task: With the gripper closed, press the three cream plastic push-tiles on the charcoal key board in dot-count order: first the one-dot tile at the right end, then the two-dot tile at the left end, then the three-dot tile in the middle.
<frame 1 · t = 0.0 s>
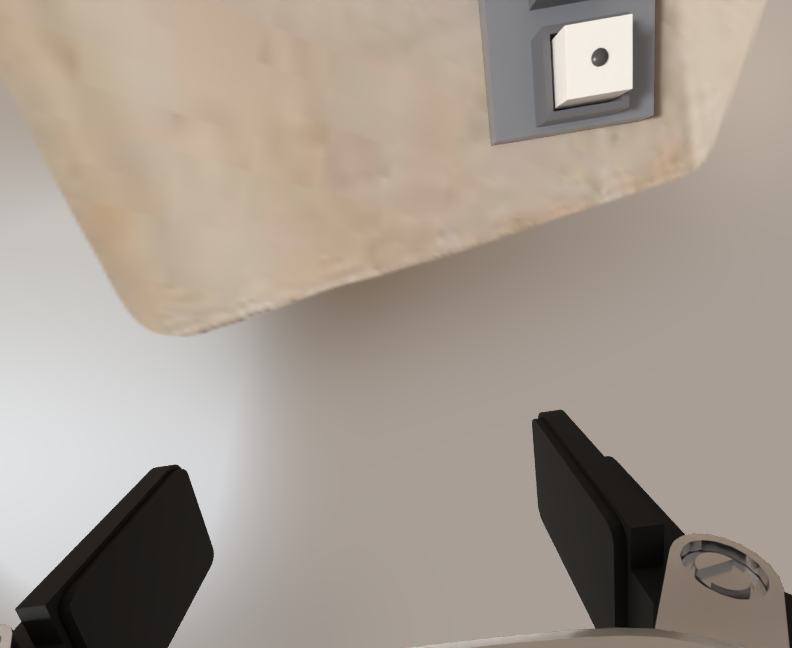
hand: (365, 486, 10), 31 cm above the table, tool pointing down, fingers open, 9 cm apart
one-dot tile: (590, 64, 31), point 5 cm above the table, slide at 0.0 cm
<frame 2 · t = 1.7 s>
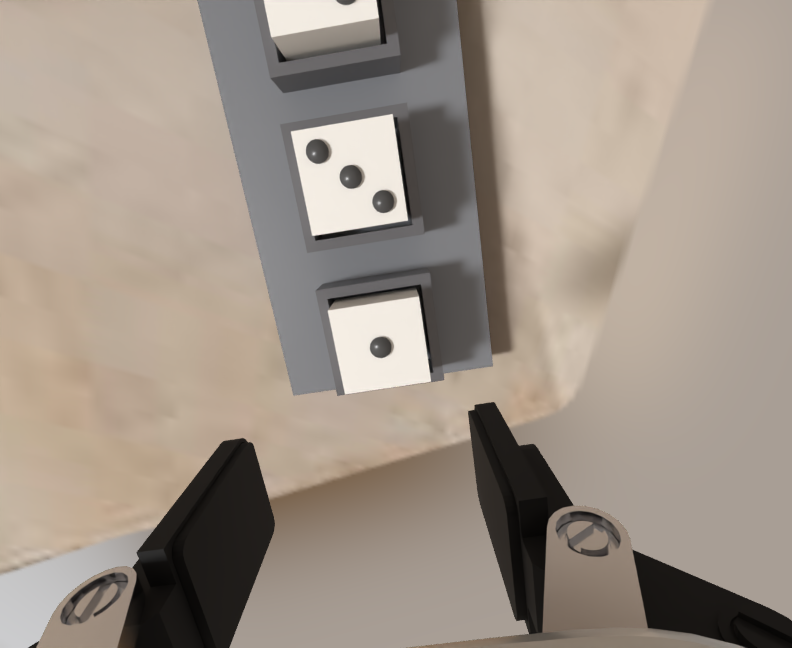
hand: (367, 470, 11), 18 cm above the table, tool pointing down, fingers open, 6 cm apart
three-dot tile: (353, 180, 21), point 5 cm above the table, slide at 0.0 cm
key board: (361, 187, 26), on the table
one-dot tile: (381, 339, 23), point 5 cm above the table, slide at 0.0 cm
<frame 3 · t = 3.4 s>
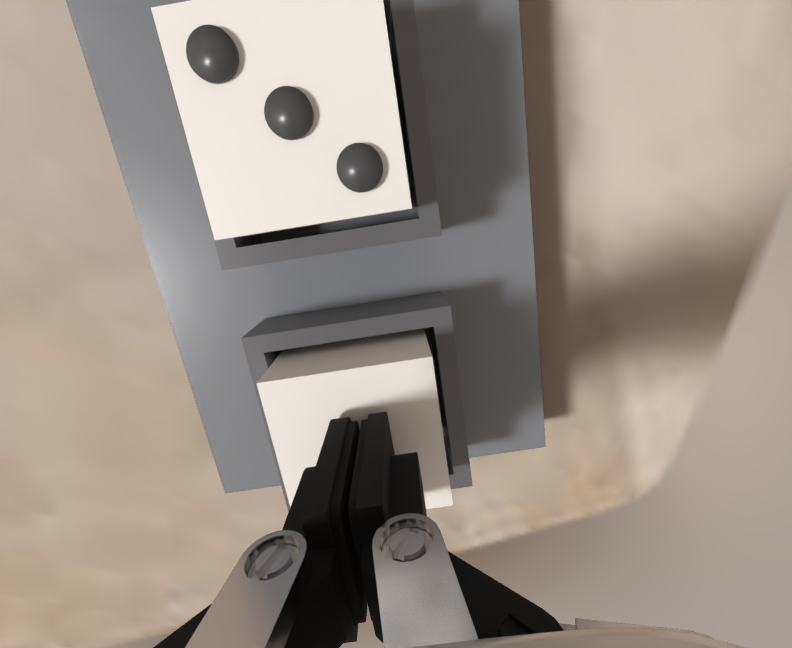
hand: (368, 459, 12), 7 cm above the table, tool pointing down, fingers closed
three-dot tile: (303, 127, 10), point 5 cm above the table, slide at 0.0 cm
key board: (330, 155, 15), on the table
one-dot tile: (362, 422, 13), point 5 cm above the table, slide at 0.2 cm, touching gripper
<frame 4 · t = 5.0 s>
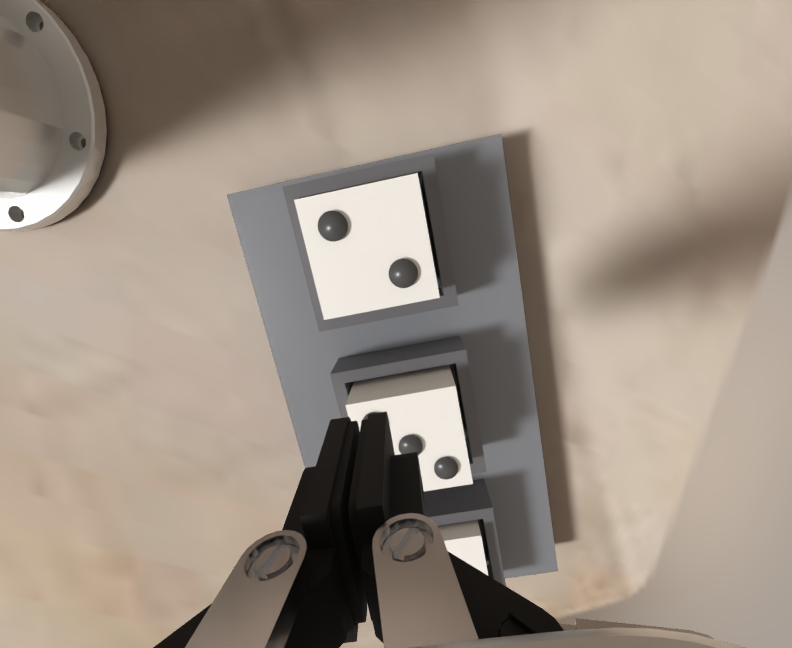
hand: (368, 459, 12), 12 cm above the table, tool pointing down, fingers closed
two-dot tile: (371, 248, 17), point 5 cm above the table, slide at 0.0 cm
three-dot tile: (410, 429, 19), point 5 cm above the table, slide at 0.0 cm
key board: (409, 389, 24), on the table
one-dot tile: (439, 559, 23), point 4 cm above the table, slide at 1.2 cm
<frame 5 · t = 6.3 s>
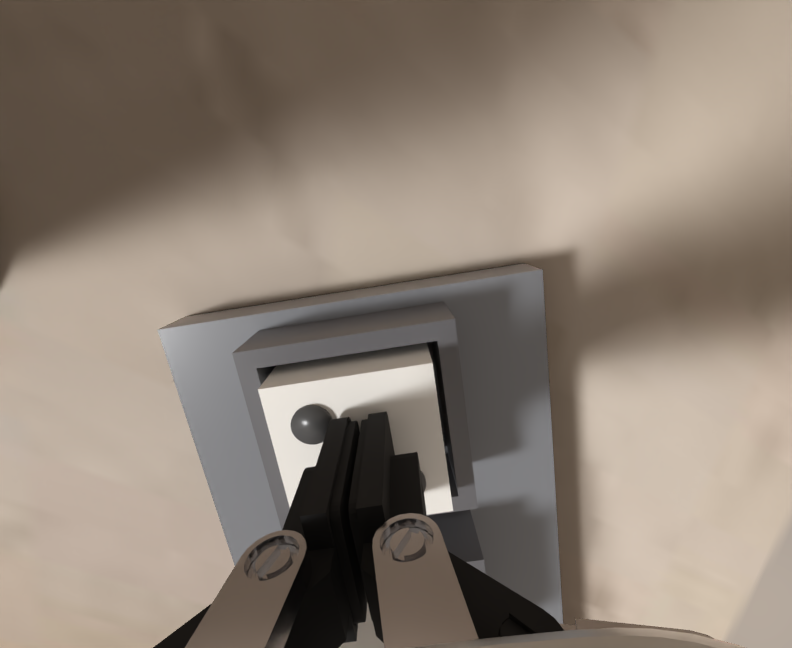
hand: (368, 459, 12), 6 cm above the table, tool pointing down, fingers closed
two-dot tile: (363, 428, 13), point 4 cm above the table, slide at 1.0 cm
key board: (400, 547, 19), on the table
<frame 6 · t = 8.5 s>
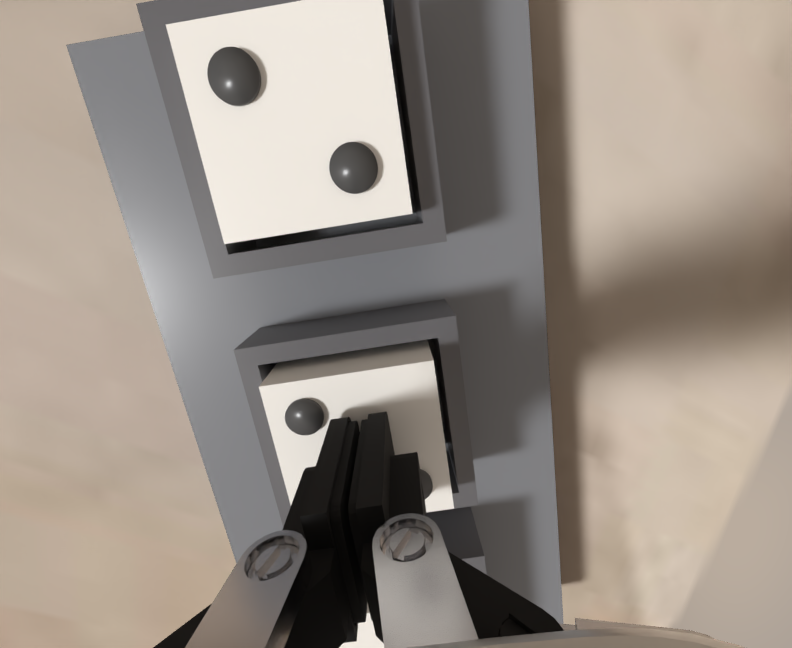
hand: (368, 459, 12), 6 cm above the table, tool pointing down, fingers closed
two-dot tile: (308, 136, 11), point 4 cm above the table, slide at 1.2 cm
three-dot tile: (364, 426, 13), point 4 cm above the table, slide at 1.0 cm, touching gripper
key board: (370, 377, 17), on the table
one-dot tile: (404, 622, 16), point 4 cm above the table, slide at 1.2 cm
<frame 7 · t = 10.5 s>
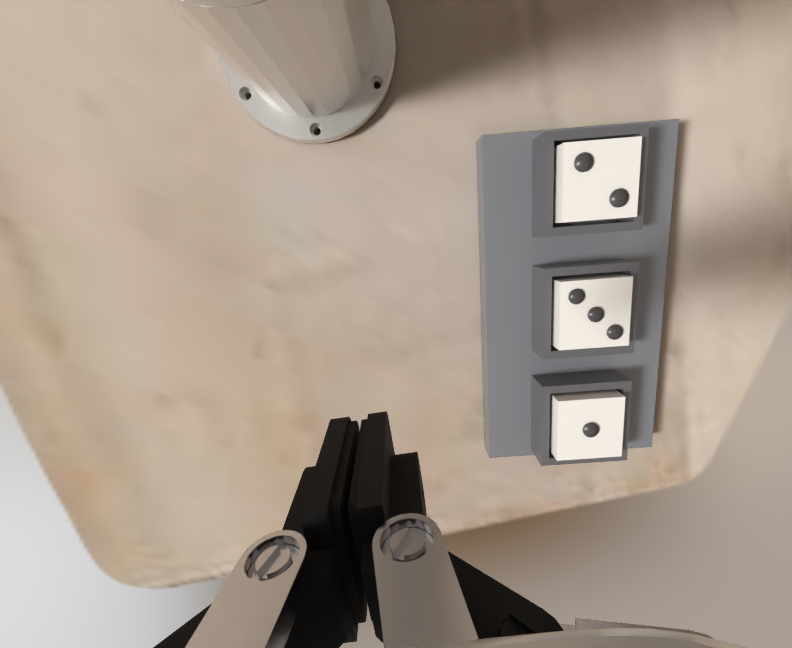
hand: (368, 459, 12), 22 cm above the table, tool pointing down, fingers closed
two-dot tile: (590, 183, 27), point 4 cm above the table, slide at 1.2 cm
three-dot tile: (585, 310, 29), point 4 cm above the table, slide at 1.2 cm
key board: (564, 301, 33), on the table
one-dot tile: (581, 420, 31), point 4 cm above the table, slide at 1.2 cm
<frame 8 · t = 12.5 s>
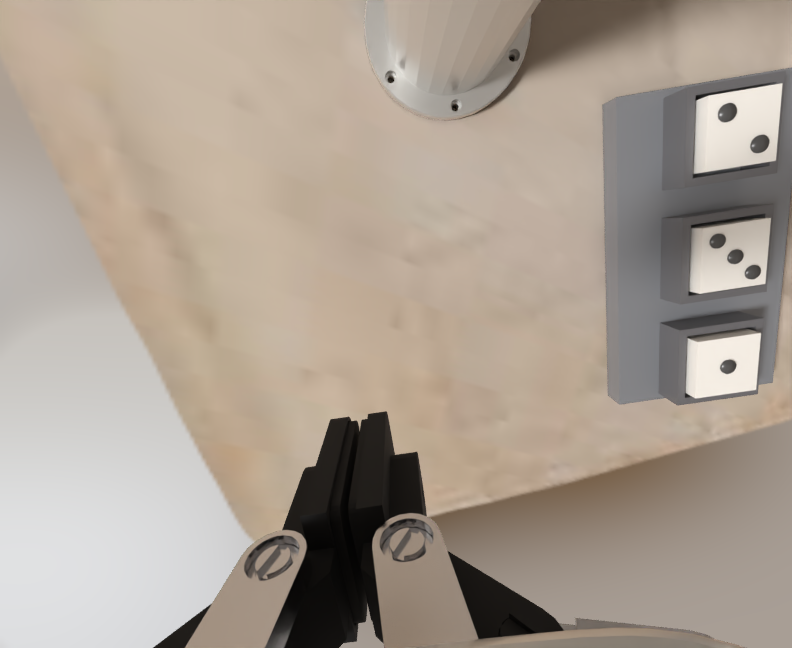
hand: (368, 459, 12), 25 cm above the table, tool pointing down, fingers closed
two-dot tile: (726, 133, 29), point 4 cm above the table, slide at 1.2 cm
three-dot tile: (719, 255, 31), point 4 cm above the table, slide at 1.2 cm
key board: (684, 251, 35), on the table
one-dot tile: (713, 360, 33), point 4 cm above the table, slide at 1.2 cm
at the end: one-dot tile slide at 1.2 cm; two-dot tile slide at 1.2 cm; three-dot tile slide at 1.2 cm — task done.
